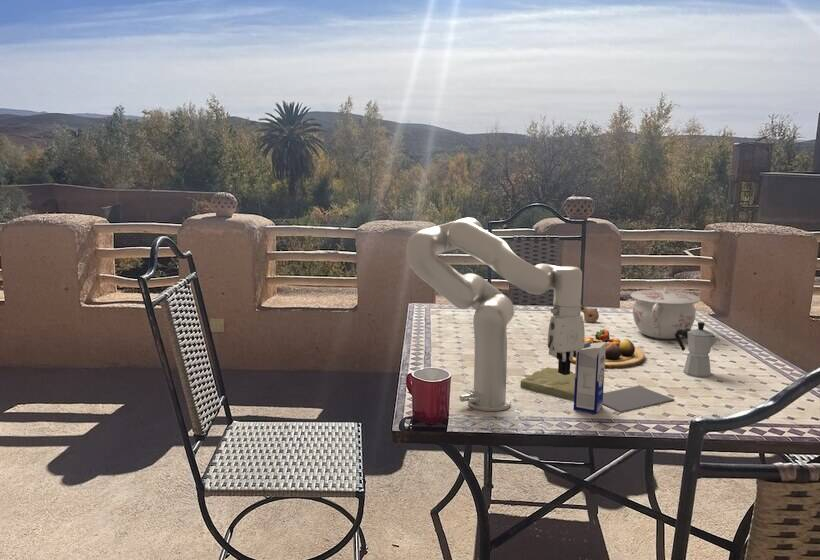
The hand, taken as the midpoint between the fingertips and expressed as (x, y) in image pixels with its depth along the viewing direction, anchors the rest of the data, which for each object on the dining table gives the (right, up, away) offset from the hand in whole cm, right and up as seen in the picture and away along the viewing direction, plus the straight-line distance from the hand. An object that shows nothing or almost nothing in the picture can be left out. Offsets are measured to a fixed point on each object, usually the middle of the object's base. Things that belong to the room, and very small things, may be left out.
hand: (563, 373), depth 191 cm
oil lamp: (+37, +7, +112) cm, 119 cm away
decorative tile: (+5, -8, +26) cm, 28 cm away
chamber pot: (+62, +3, +90) cm, 109 cm away
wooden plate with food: (+27, -2, +60) cm, 66 cm away
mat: (+24, -10, +14) cm, 29 cm away
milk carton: (+9, -11, +7) cm, 16 cm away
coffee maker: (+54, -6, +40) cm, 68 cm away
